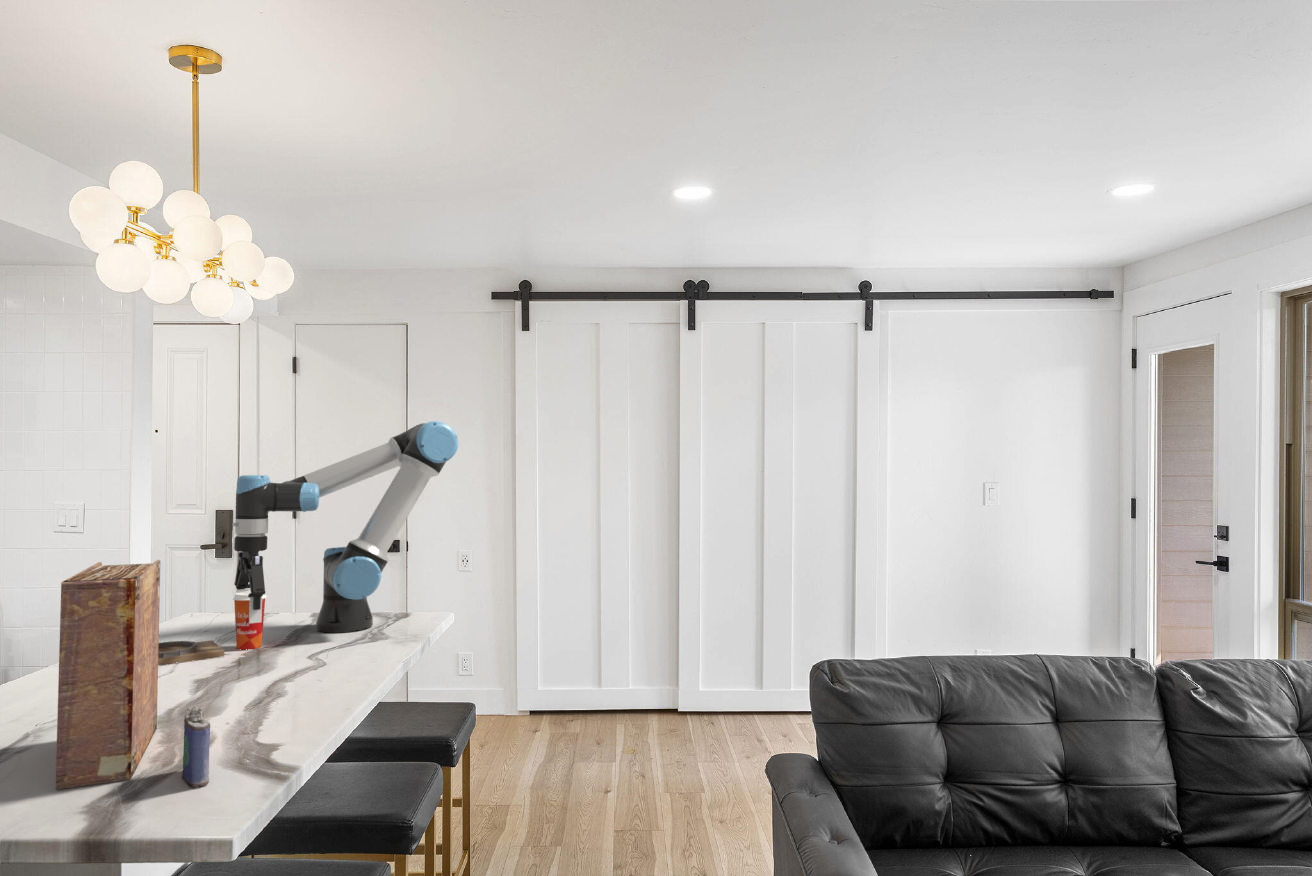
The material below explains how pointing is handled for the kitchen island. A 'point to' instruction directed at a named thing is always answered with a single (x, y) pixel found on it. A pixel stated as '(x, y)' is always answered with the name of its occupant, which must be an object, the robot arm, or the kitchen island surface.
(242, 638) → the paper cup
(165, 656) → the seat board
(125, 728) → the book
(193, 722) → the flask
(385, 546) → the robot arm
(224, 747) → the kitchen island surface
